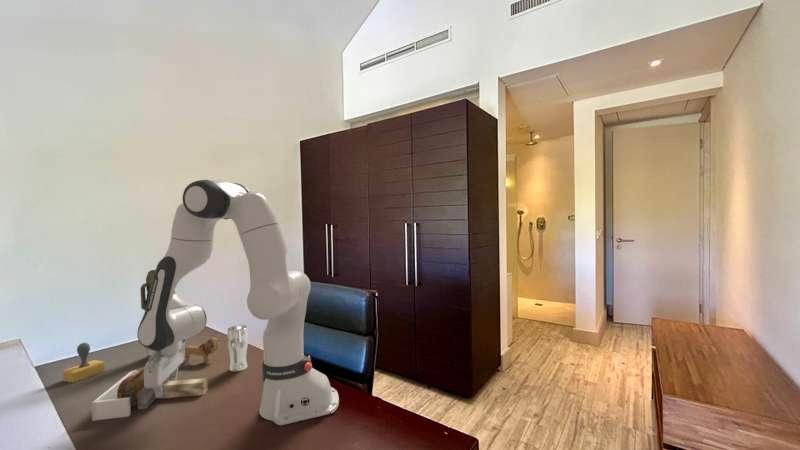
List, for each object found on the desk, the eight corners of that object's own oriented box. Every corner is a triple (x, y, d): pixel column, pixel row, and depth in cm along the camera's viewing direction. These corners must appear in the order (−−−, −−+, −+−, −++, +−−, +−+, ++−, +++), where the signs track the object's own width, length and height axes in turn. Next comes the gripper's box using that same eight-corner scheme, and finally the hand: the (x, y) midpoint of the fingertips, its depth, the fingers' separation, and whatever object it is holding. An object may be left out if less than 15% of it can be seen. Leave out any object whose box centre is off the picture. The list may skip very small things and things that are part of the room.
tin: (127, 412, 102) (125, 383, 102) (115, 413, 102) (113, 384, 102) (157, 387, 117) (156, 362, 117) (147, 387, 117) (146, 362, 117)
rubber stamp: (73, 383, 121) (71, 348, 121) (62, 381, 123) (61, 347, 123) (105, 371, 131) (104, 339, 130) (95, 369, 133) (93, 337, 132)
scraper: (213, 382, 120) (213, 367, 120) (196, 404, 106) (195, 387, 106) (162, 386, 118) (161, 371, 118) (138, 409, 104) (137, 392, 104)
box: (162, 382, 121) (161, 367, 121) (128, 416, 100) (128, 399, 100) (132, 385, 119) (131, 370, 119) (92, 420, 98) (91, 403, 98)
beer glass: (244, 362, 136) (243, 323, 135) (252, 367, 131) (250, 327, 130) (225, 368, 131) (223, 328, 130) (232, 374, 126) (230, 332, 125)
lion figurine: (220, 357, 141) (219, 335, 141) (217, 363, 136) (217, 339, 136) (178, 362, 137) (177, 339, 137) (174, 368, 132) (173, 344, 131)
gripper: (160, 357, 102) (162, 404, 102) (188, 333, 122) (189, 373, 122) (136, 359, 100) (138, 407, 101) (167, 335, 120) (169, 375, 121)
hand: (166, 388), depth 112 cm, fingers open, 8 cm apart
